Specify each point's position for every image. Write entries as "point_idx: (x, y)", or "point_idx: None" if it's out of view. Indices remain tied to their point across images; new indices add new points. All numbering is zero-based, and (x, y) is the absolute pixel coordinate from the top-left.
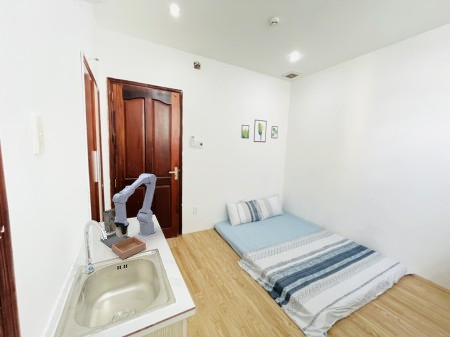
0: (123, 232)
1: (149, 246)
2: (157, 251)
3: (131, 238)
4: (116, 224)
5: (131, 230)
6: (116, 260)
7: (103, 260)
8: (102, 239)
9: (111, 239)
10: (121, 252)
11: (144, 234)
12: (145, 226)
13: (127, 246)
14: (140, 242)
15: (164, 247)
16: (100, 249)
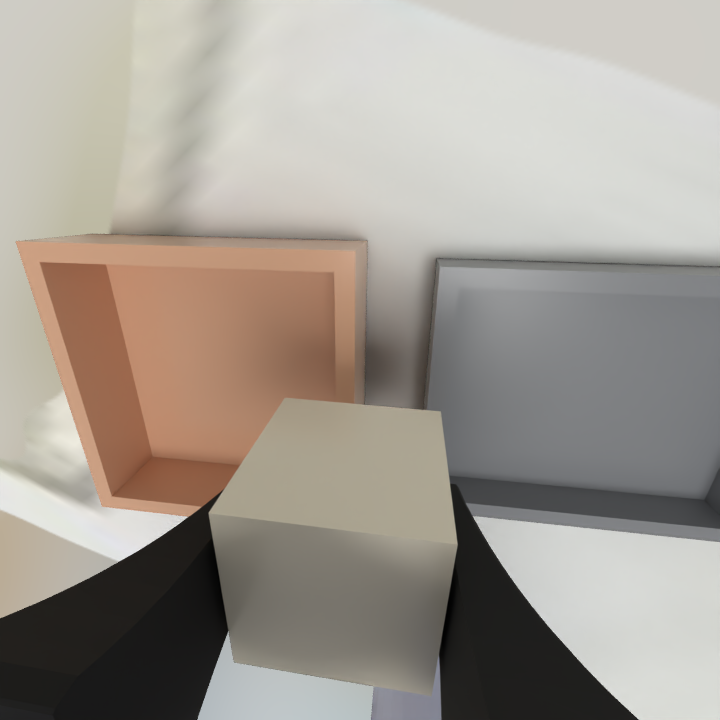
0: None
1: None
2: (48, 481)
3: None
4: (471, 685)
5: (648, 604)
6: (122, 177)
7: (228, 57)
8: None
9: (675, 379)
10: (51, 242)
11: None
12: (378, 717)
13: (308, 394)
14: (189, 491)
15: (74, 538)
16: (564, 156)
